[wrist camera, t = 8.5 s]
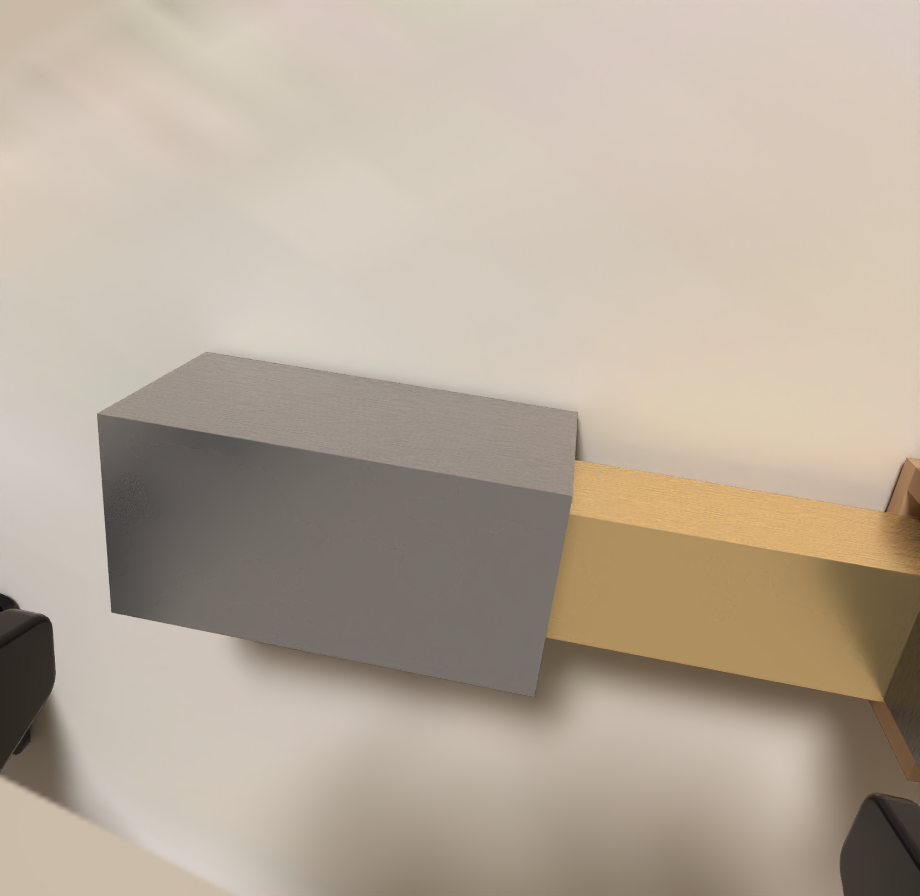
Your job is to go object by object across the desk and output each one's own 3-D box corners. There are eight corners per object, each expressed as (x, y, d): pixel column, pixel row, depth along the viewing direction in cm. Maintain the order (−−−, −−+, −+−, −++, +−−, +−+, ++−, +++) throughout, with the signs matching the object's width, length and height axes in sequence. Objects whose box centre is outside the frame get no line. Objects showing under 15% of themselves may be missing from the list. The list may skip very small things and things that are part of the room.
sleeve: (208, 516, 23) (111, 612, 18) (206, 352, 21) (97, 413, 16) (547, 578, 22) (534, 697, 17) (577, 412, 20) (572, 495, 15)
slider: (437, 548, 21) (335, 820, 13) (450, 438, 20) (346, 661, 11) (1028, 657, 19) (1350, 1047, 11) (1084, 545, 18) (1493, 892, 10)
